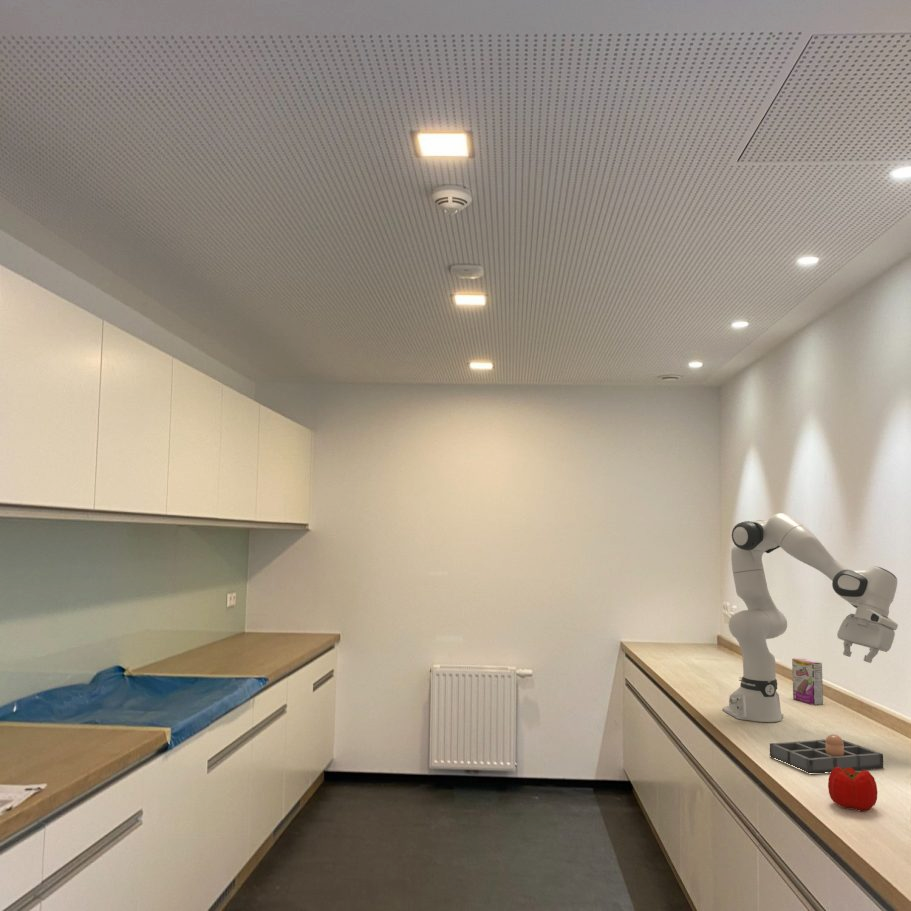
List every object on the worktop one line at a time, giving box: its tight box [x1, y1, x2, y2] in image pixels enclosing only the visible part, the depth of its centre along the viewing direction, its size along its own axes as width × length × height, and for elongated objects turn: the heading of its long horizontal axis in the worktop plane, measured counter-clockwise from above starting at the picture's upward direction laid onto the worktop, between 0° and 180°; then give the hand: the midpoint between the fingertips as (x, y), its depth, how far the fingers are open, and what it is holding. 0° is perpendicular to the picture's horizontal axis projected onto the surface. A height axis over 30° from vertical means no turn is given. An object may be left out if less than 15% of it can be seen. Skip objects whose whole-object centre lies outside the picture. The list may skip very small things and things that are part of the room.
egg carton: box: [769, 739, 884, 774], centre depth 233 cm, size 17×25×4 cm
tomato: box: [827, 767, 878, 812], centre depth 196 cm, size 11×12×9 cm
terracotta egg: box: [825, 733, 844, 757], centre depth 229 cm, size 5×5×8 cm
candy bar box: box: [791, 657, 824, 706], centre depth 315 cm, size 11×5×16 cm, turn 22°
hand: (856, 658), depth 248 cm, fingers open, 8 cm apart
